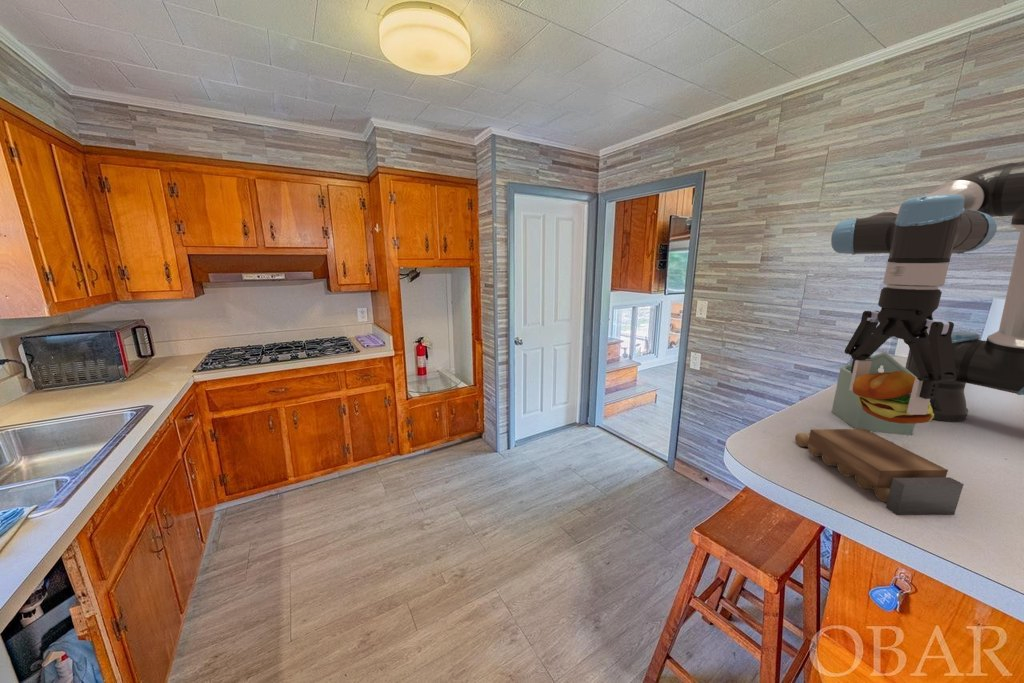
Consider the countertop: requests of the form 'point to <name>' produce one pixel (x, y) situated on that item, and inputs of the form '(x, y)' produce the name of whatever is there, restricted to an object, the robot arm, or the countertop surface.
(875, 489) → the cylinder
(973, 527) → the countertop surface
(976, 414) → the countertop surface
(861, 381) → the cheeseburger
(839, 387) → the planter
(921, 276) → the robot arm
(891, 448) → the board
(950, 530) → the countertop surface
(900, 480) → the stop rail
